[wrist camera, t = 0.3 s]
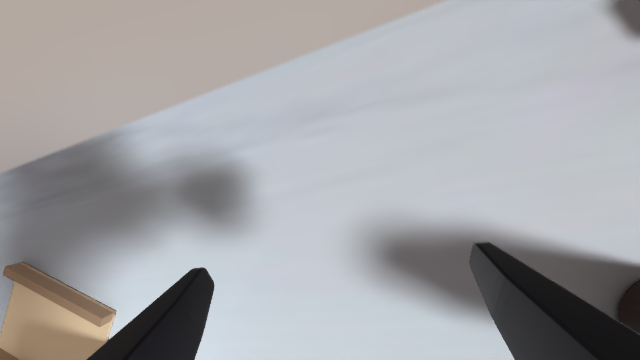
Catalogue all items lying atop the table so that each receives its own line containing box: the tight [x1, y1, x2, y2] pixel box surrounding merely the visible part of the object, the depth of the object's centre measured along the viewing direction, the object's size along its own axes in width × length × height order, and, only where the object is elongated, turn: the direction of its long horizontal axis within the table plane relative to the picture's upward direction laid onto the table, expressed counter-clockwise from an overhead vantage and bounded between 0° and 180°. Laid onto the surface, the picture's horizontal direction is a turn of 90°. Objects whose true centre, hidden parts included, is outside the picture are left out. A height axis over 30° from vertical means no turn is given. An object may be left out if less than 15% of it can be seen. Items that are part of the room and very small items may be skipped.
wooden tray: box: [0, 262, 116, 360], centre depth 28 cm, size 14×12×2 cm
